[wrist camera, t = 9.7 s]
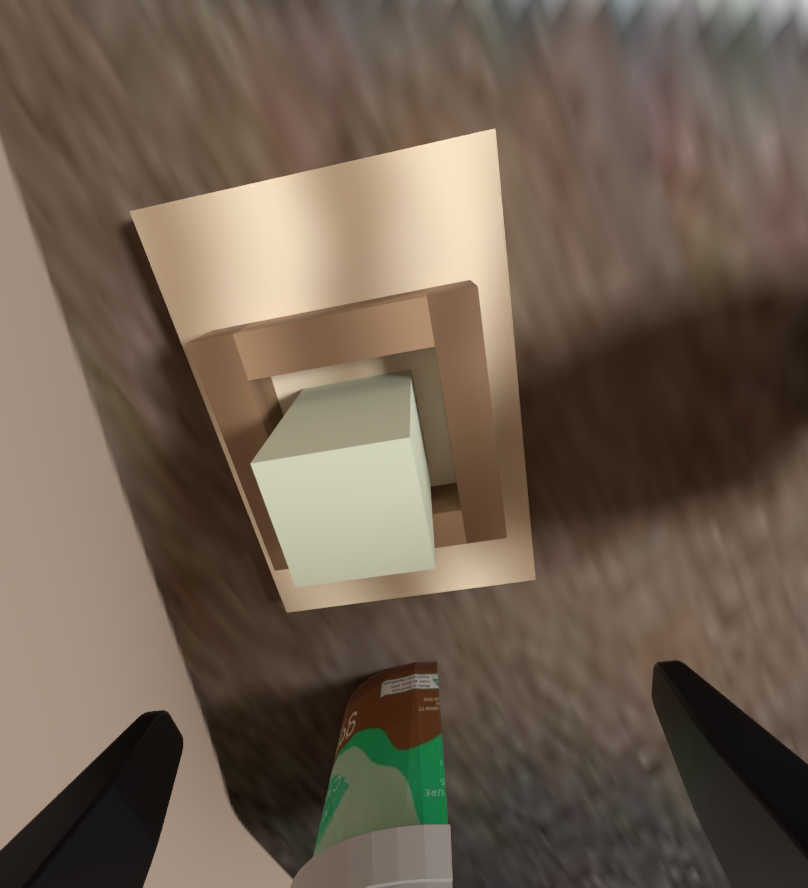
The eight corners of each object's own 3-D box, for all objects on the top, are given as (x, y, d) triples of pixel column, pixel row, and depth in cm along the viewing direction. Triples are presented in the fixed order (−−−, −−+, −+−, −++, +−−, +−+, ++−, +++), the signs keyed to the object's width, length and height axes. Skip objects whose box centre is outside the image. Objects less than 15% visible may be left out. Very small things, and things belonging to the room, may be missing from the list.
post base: (490, 135, 14) (508, 111, 11) (530, 564, 21) (547, 613, 18) (146, 212, 15) (88, 208, 13) (291, 597, 22) (274, 647, 20)
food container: (318, 636, 23) (258, 893, 14) (439, 641, 23) (455, 901, 14) (328, 781, 29) (288, 1036, 19) (426, 784, 29) (432, 1042, 19)
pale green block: (410, 369, 16) (409, 437, 11) (429, 467, 18) (436, 568, 13) (303, 388, 17) (250, 463, 11) (330, 482, 18) (296, 587, 13)
